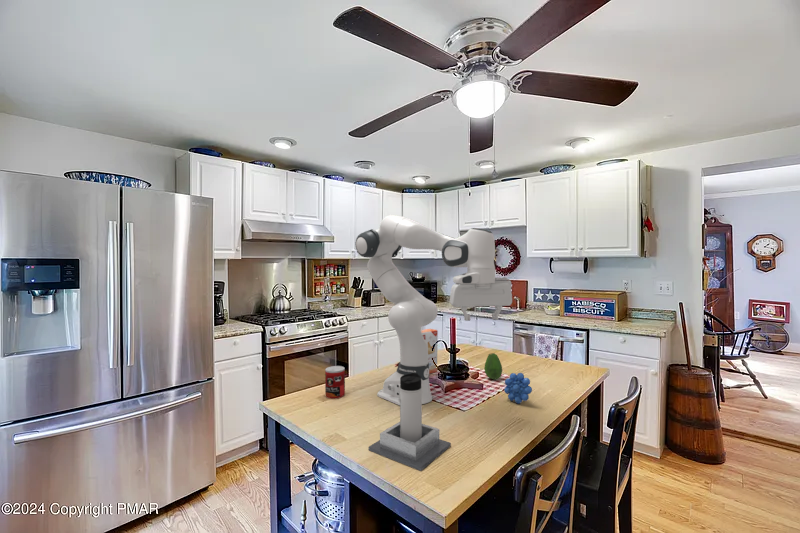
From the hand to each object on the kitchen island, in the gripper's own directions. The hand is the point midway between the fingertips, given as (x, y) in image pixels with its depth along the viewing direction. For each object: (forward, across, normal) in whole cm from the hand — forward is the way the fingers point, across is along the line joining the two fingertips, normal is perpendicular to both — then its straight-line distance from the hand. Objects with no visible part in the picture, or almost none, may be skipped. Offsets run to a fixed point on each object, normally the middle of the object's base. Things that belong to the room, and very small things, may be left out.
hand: (481, 320), depth 120 cm
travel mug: (+34, +25, +9) cm, 43 cm away
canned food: (+35, +48, -37) cm, 70 cm away
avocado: (+35, -23, -46) cm, 63 cm away
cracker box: (+35, +6, -60) cm, 70 cm away
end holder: (+35, +26, +10) cm, 44 cm away
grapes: (+35, -22, -18) cm, 45 cm away
